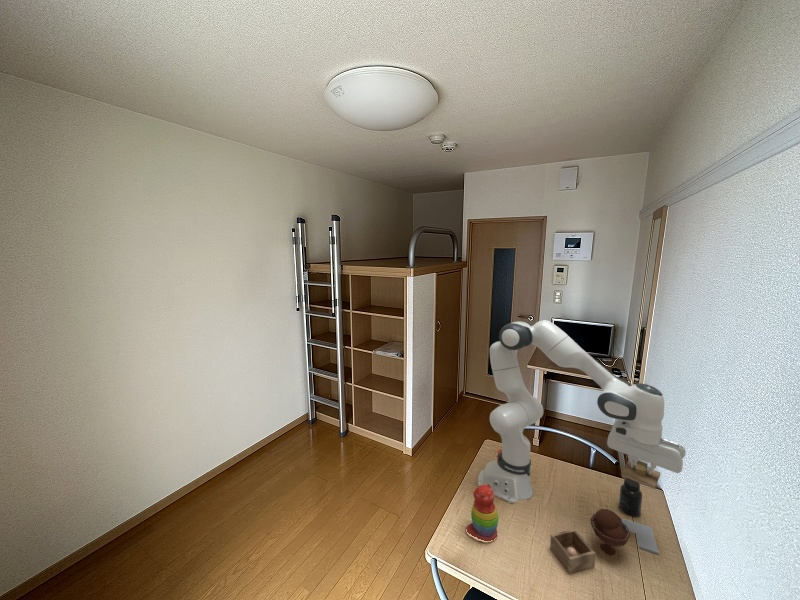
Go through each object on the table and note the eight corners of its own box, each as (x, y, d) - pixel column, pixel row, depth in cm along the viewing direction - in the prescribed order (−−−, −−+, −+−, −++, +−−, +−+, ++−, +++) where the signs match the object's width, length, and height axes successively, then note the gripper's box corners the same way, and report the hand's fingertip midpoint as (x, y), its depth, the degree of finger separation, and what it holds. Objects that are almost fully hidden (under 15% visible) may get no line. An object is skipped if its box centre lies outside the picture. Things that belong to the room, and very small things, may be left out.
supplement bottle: (644, 519, 118) (647, 489, 116) (623, 516, 119) (626, 487, 117) (634, 504, 124) (637, 477, 123) (615, 502, 126) (617, 475, 124)
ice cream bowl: (629, 573, 98) (633, 531, 96) (587, 556, 104) (590, 515, 102) (627, 546, 107) (630, 507, 105) (588, 532, 113) (591, 494, 111)
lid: (654, 489, 102) (655, 476, 101) (621, 475, 108) (622, 463, 108) (660, 475, 107) (661, 463, 107) (628, 463, 114) (629, 452, 113)
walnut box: (569, 576, 98) (570, 559, 97) (550, 550, 106) (550, 534, 106) (594, 569, 100) (595, 553, 99) (573, 544, 108) (573, 528, 107)
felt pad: (618, 541, 109) (618, 539, 109) (614, 517, 119) (614, 516, 118) (659, 554, 104) (659, 553, 104) (651, 528, 113) (651, 527, 113)
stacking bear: (479, 514, 122) (479, 472, 119) (503, 530, 114) (504, 486, 112) (463, 532, 114) (463, 488, 111) (488, 550, 107) (489, 503, 104)
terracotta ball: (565, 559, 102) (566, 550, 102) (566, 551, 105) (566, 542, 105) (577, 563, 101) (577, 555, 100) (577, 555, 104) (577, 546, 103)
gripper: (687, 441, 100) (683, 481, 102) (612, 418, 115) (609, 453, 117) (684, 450, 96) (680, 491, 98) (607, 424, 111) (604, 460, 113)
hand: (641, 470), depth 108 cm, fingers closed on lid, 3 cm apart
